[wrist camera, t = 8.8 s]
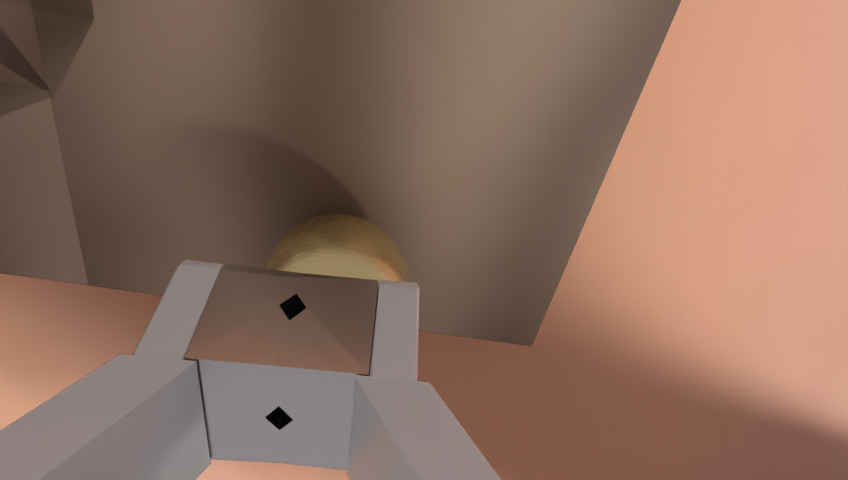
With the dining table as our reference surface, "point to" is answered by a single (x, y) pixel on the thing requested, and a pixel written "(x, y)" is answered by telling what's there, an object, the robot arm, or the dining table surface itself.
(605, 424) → the dining table surface
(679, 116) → the dining table surface
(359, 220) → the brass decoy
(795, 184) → the dining table surface
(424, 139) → the seat plate
